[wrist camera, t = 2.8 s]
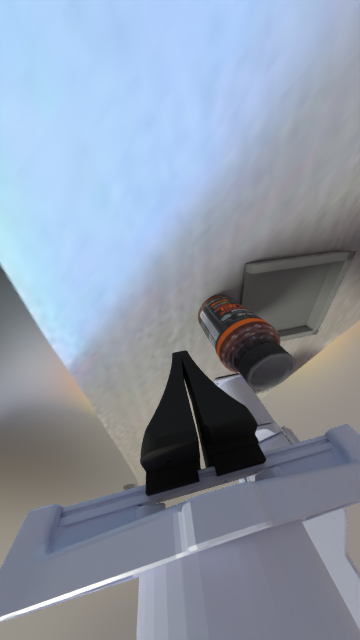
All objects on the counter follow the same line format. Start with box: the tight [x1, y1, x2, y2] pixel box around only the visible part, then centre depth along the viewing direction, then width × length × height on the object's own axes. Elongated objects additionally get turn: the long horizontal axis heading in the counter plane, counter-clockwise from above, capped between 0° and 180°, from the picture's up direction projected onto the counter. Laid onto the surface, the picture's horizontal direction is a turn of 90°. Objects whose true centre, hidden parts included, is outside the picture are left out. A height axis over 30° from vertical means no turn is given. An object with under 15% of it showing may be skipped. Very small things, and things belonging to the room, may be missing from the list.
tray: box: [240, 251, 356, 341], centre depth 20 cm, size 13×14×2 cm
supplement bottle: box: [198, 295, 295, 389], centre depth 15 cm, size 6×6×11 cm
